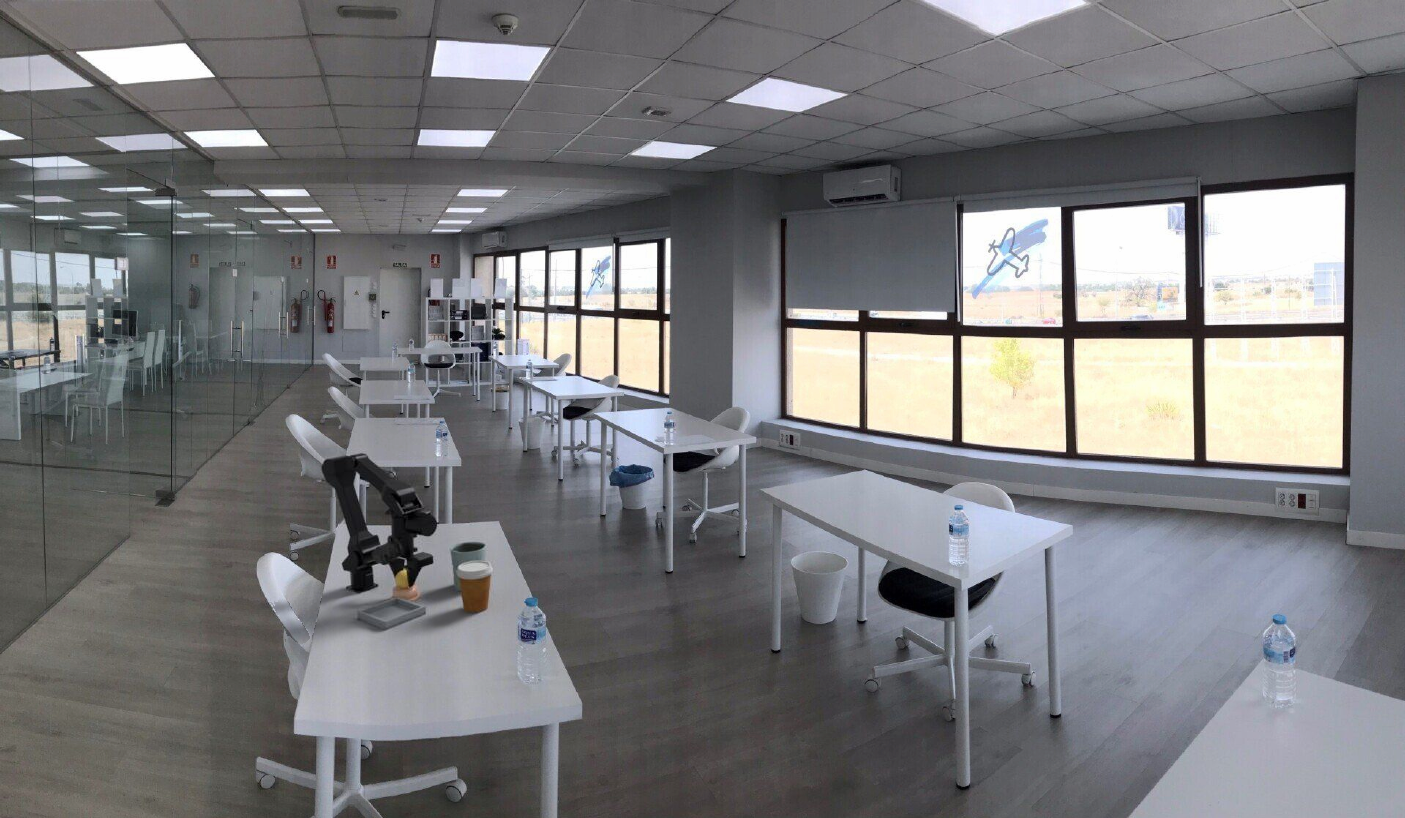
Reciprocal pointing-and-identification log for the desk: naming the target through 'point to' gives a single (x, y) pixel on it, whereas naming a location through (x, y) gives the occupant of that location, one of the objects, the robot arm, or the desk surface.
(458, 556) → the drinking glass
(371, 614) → the tray
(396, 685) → the desk surface
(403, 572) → the ball
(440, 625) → the desk surface
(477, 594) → the disposable coffee cup
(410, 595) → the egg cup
